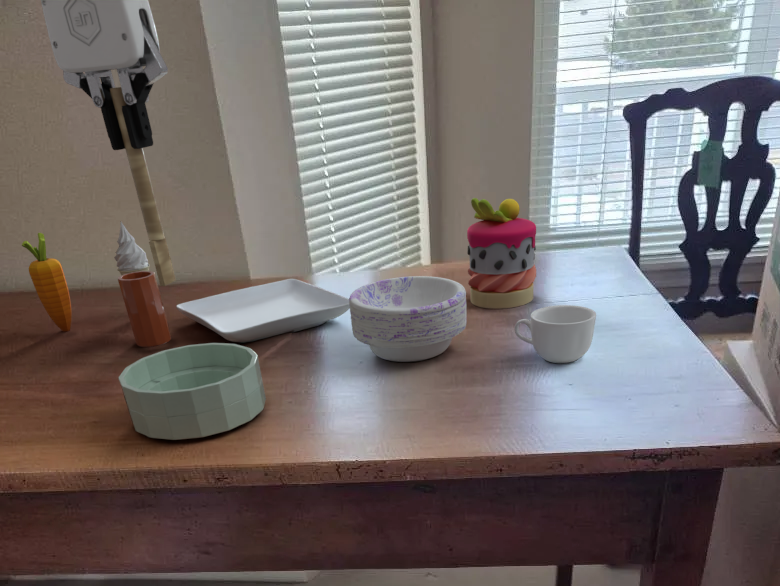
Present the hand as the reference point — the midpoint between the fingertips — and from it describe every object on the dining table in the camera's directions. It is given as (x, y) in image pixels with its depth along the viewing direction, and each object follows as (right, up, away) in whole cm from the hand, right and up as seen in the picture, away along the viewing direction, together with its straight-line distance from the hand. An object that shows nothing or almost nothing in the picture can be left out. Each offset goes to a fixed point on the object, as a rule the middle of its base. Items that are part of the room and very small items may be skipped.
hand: (133, 146), depth 79 cm
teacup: (+48, -20, +14) cm, 54 cm away
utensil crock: (-8, -13, +30) cm, 34 cm away
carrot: (-25, -10, +39) cm, 47 cm away
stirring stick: (+1, -12, +8) cm, 15 cm away
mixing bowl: (+6, -28, +7) cm, 29 cm away
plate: (+8, -9, +35) cm, 37 cm away
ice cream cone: (-14, -6, +43) cm, 45 cm away
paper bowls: (+30, -17, +20) cm, 40 cm away
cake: (+45, -5, +36) cm, 57 cm away
